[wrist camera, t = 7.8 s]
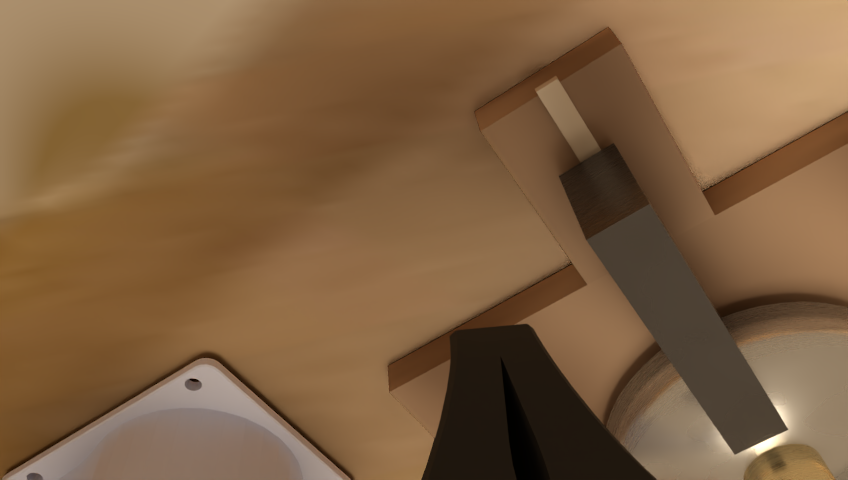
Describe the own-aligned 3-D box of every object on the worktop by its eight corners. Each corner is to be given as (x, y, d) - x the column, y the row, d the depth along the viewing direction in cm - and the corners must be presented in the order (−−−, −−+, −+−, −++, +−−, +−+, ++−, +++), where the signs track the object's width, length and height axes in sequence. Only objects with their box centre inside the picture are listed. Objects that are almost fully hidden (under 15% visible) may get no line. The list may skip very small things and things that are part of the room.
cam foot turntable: (945, 440, 28) (1026, 541, 24) (679, 556, 30) (719, 662, 27) (770, 48, 19) (856, 120, 16) (423, 256, 22) (435, 355, 18)
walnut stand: (605, 592, 34) (614, 624, 33) (263, 236, 23) (259, 264, 22) (1044, 404, 29) (1073, 433, 28) (876, -152, 19) (911, -142, 17)
